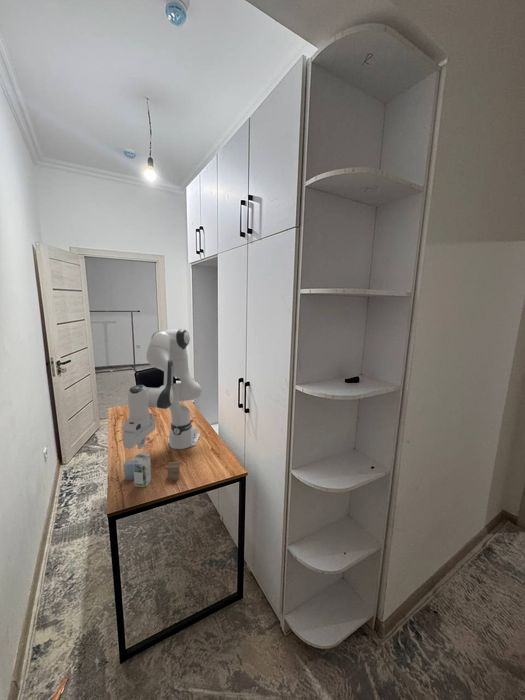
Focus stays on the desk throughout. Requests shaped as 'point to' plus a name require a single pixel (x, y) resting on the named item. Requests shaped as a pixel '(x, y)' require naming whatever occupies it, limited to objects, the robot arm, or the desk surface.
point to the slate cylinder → (129, 470)
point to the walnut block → (173, 471)
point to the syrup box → (142, 469)
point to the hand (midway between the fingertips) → (141, 447)
